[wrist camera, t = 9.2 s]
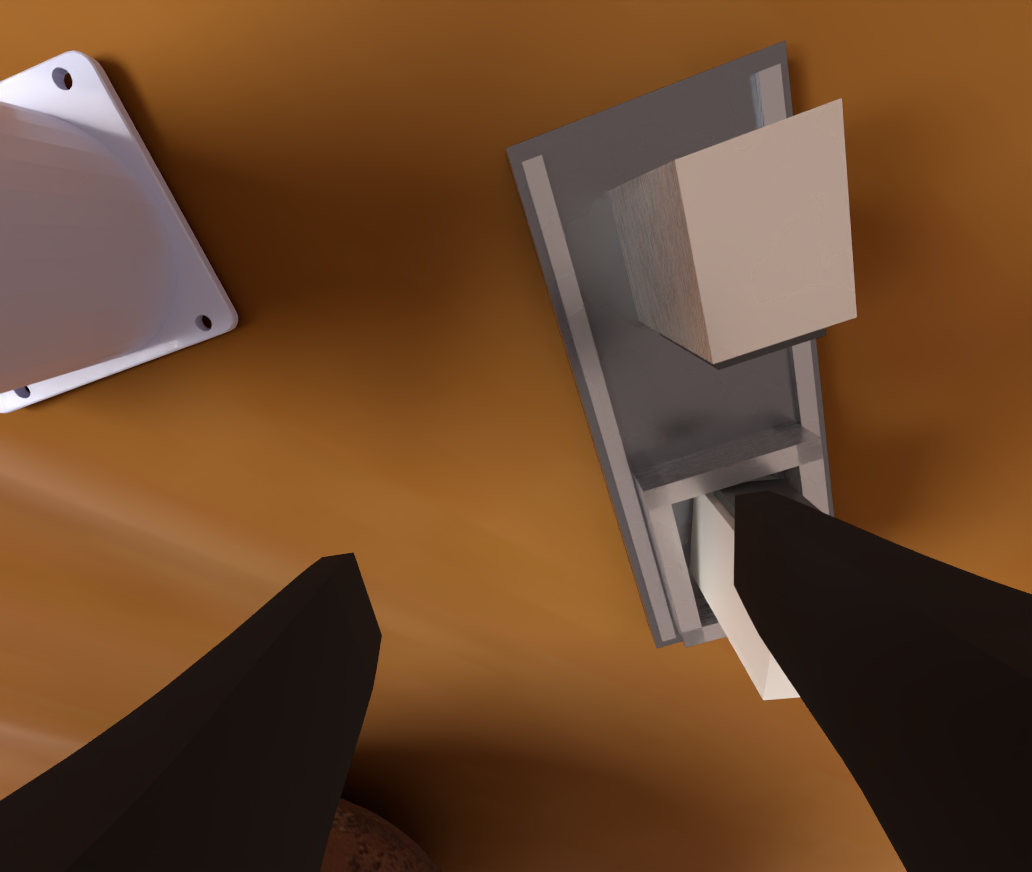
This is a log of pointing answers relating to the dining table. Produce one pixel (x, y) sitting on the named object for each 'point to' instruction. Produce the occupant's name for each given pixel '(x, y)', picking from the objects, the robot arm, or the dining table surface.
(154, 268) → the robot arm
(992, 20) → the dining table surface
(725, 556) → the block
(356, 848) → the pottery
